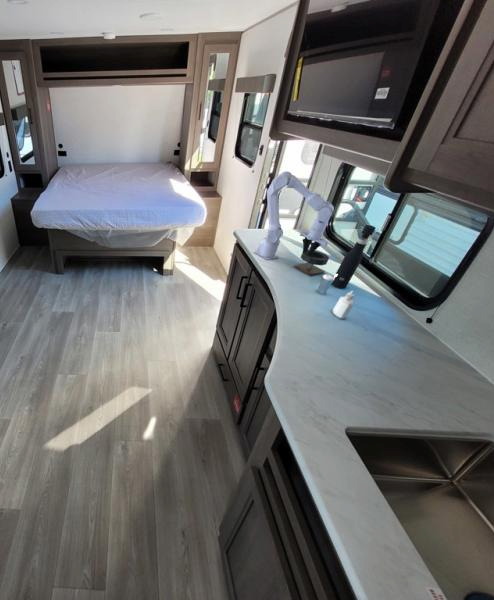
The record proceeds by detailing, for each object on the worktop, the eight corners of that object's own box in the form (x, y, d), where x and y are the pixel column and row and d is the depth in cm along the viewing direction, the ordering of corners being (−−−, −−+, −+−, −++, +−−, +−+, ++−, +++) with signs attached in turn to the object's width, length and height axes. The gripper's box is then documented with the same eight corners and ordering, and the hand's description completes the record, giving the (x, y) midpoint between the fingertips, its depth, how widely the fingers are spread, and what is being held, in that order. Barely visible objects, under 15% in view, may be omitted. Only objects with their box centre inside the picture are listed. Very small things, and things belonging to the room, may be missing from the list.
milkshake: (330, 295, 141) (340, 276, 136) (318, 294, 141) (328, 276, 136) (324, 290, 145) (334, 271, 139) (313, 289, 145) (322, 271, 139)
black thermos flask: (341, 282, 152) (373, 224, 135) (348, 289, 147) (382, 230, 129) (328, 281, 152) (358, 223, 135) (334, 288, 147) (367, 228, 130)
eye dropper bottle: (333, 317, 128) (347, 293, 121) (331, 309, 132) (345, 286, 125) (345, 320, 126) (360, 296, 119) (343, 312, 130) (357, 289, 124)
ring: (295, 256, 160) (297, 251, 158) (311, 253, 164) (313, 248, 162) (315, 266, 151) (318, 261, 150) (331, 263, 155) (334, 258, 154)
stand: (294, 267, 163) (298, 256, 160) (307, 264, 166) (312, 254, 163) (310, 276, 156) (315, 265, 152) (323, 273, 159) (329, 262, 155)
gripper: (299, 224, 157) (290, 248, 164) (325, 235, 146) (313, 260, 153) (309, 223, 159) (299, 246, 167) (335, 233, 148) (323, 258, 156)
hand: (306, 253), depth 160 cm, fingers closed on ring, 2 cm apart
